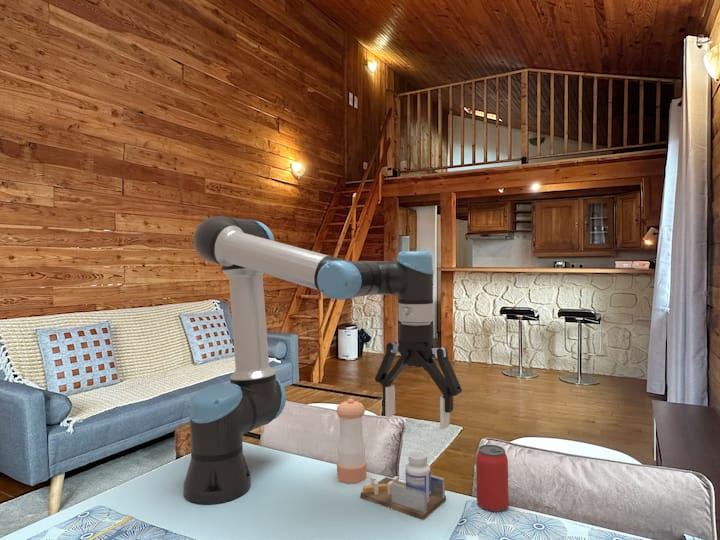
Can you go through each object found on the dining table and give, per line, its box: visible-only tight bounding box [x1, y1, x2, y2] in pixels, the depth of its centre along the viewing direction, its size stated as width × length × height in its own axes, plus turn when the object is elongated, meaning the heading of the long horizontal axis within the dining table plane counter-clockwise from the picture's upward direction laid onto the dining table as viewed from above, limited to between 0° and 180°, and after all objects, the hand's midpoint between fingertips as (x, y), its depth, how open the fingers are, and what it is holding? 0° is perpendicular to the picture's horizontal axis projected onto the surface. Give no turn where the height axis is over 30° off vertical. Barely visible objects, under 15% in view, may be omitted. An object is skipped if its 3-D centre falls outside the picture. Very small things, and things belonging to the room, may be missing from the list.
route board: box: [360, 476, 447, 521], centre depth 106 cm, size 16×10×1 cm, turn 53°
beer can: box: [475, 444, 510, 512], centre depth 102 cm, size 7×7×12 cm
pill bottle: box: [404, 451, 432, 503], centre depth 103 cm, size 5×5×10 cm
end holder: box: [391, 474, 446, 514], centre depth 103 cm, size 8×9×4 cm
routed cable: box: [362, 475, 400, 495], centre depth 108 cm, size 8×7×2 cm
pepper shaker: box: [336, 398, 368, 484], centre depth 117 cm, size 7×7×19 cm
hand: (416, 421), depth 103 cm, fingers open, 13 cm apart
